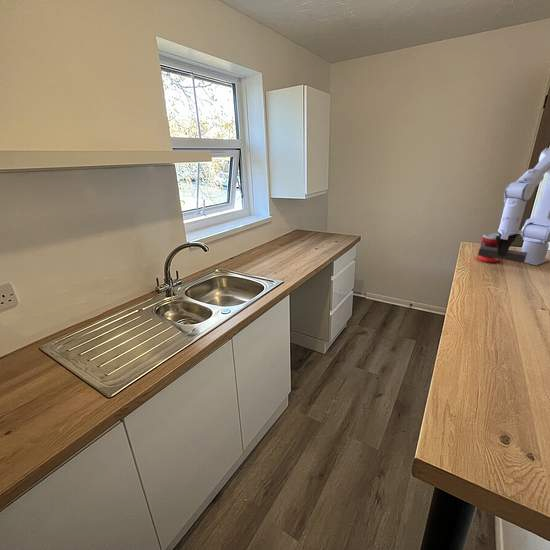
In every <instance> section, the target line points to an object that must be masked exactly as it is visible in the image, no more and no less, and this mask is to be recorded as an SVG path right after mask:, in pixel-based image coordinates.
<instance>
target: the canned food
mask: <svg viewBox="0 0 550 550" xmlns="http://www.w3.org/2000/svg"><path fill="white" fill-rule="evenodd" d="M496 236H499V233H496V232H495V233H493V232H487V233H484V234H483V235H482V239H481V243H480V248H481V247H482V246H486V247H493V248H497V241H496ZM480 248H479V249H480ZM477 259H478V261H480V262H482V263H486V264H496V263H499V261H500V260H501V259H498V258H492V257H485V256H479V255H478V256H477Z"/></svg>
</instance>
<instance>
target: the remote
mask: <svg viewBox="0 0 550 550" xmlns="http://www.w3.org/2000/svg"><path fill="white" fill-rule="evenodd" d="M480 247H481V246H480ZM477 255H478V256H485V257H492V258H498V259H500V260H505V261H511V262H517V263H523V264H524V261H525V259H526V255H527V252H521V251H520V250H512V249H508V251H507V253H506V254H505V256H499V255H498V254H497V248H493V247H486V246H482V247H481V248H479V249H478V254H477Z"/></svg>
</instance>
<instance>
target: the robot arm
mask: <svg viewBox="0 0 550 550" xmlns="http://www.w3.org/2000/svg"><path fill="white" fill-rule="evenodd" d="M546 173H548V175H549V176H548V178H547V182H546V183H545V187H544V190H543V192H542V196H541V198H540V201H539V204H538V207H537V210H536V213H535V215H534V216H533V217H529V218H528V219H526V220H525V222H524V224H523V226H522V228H521V229H520V226H521V224H522V223H521V222H522V221H523V216H524V212H525V208H526V205H527V202H528V200H530V199H531V197H532V195H533V193H534V192H535V190H536V187H537V186H538V185H539V184H541V182H542V181H543V180H544V178H545V174H546ZM503 204H504V206H503V211H502V215H501V219H500V222H499V227H498V229H497V232H498V234H499V236H496V241H497V254H498V255H499V256H505V254H506V253H507V251H508V250H510V248H511V245H512V244H513V243H514V242H515V241H516V238H517V237H518V235H519V234H520V236H521V237H522V240H523V243H522V246H521V251H520V252H527V255H526V259H525V261H524V263H525V264H529V265H534V266H538V265H541V264H543V263H545V262H547V261H548V259H546V257H547V254H548V250H549V248H550V246H549V245H550V244H549V243H550V147H546V148H544V149H543V150H542V151H541V152H540V155H539V157H538V162H537V164H535V166H534V167H533V168H529V169H528V170H526V171H525V173H523V174H522V175H521V176H520V177H519V178H518V179H517V180H516V181H513V182H511V183H509V184H507V186H506V187H505V190H504V191H503ZM524 263H523V264H524Z"/></svg>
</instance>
